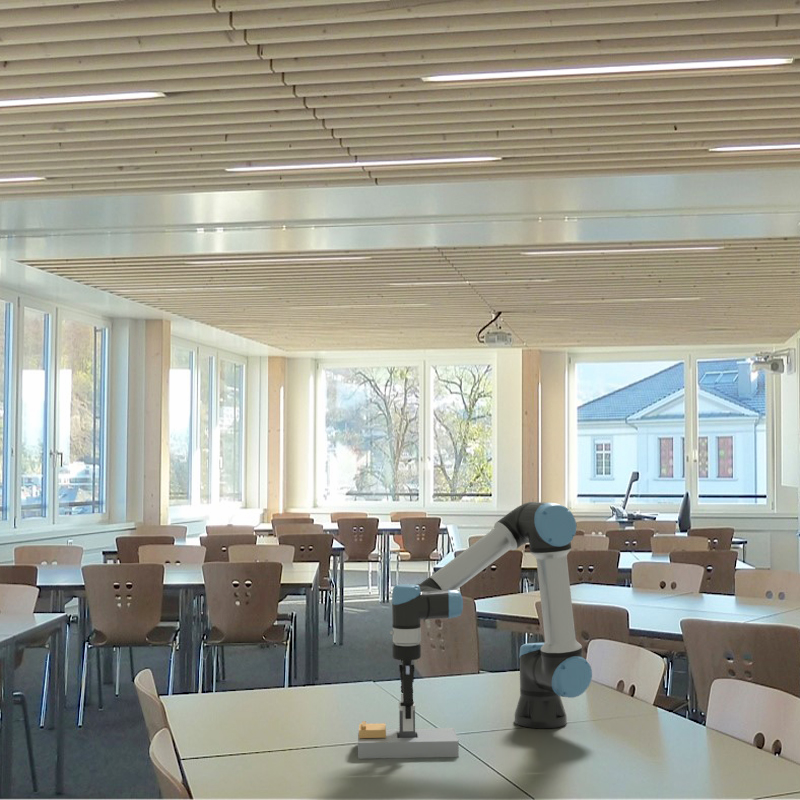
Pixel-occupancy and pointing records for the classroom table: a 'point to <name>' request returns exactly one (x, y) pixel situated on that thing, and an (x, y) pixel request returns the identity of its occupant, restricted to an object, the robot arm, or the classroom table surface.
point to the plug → (402, 733)
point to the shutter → (372, 730)
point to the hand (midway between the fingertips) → (407, 724)
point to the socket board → (411, 744)
